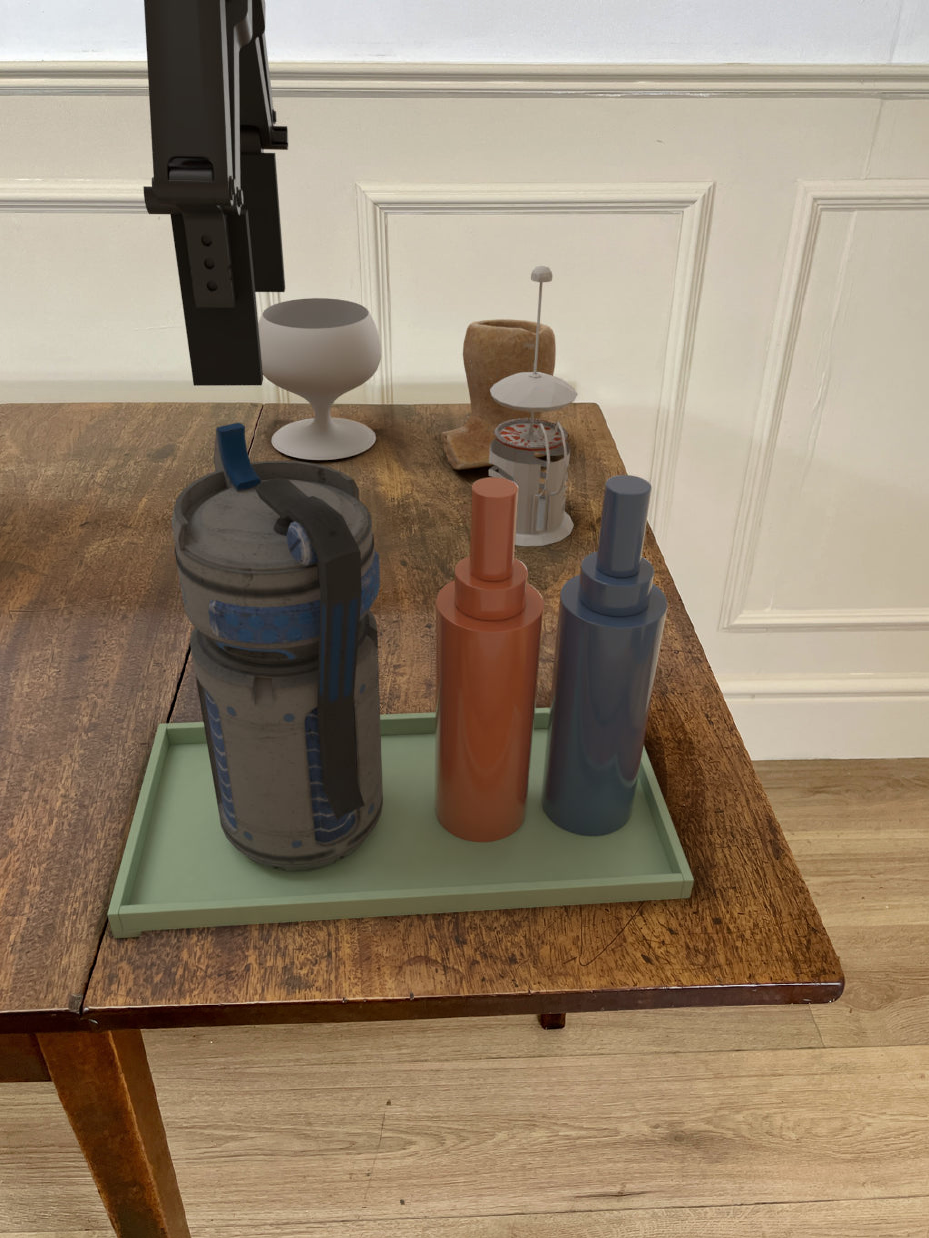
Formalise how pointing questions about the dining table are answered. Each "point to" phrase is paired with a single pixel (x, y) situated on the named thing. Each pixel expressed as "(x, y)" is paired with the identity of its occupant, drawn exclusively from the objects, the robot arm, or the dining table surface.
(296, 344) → the chalice
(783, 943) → the dining table surface
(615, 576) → the slate-blue bottle
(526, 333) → the brown suede boot
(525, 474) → the french press
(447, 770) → the terracotta bottle
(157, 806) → the tray
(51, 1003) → the dining table surface
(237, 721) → the beverage bottle
